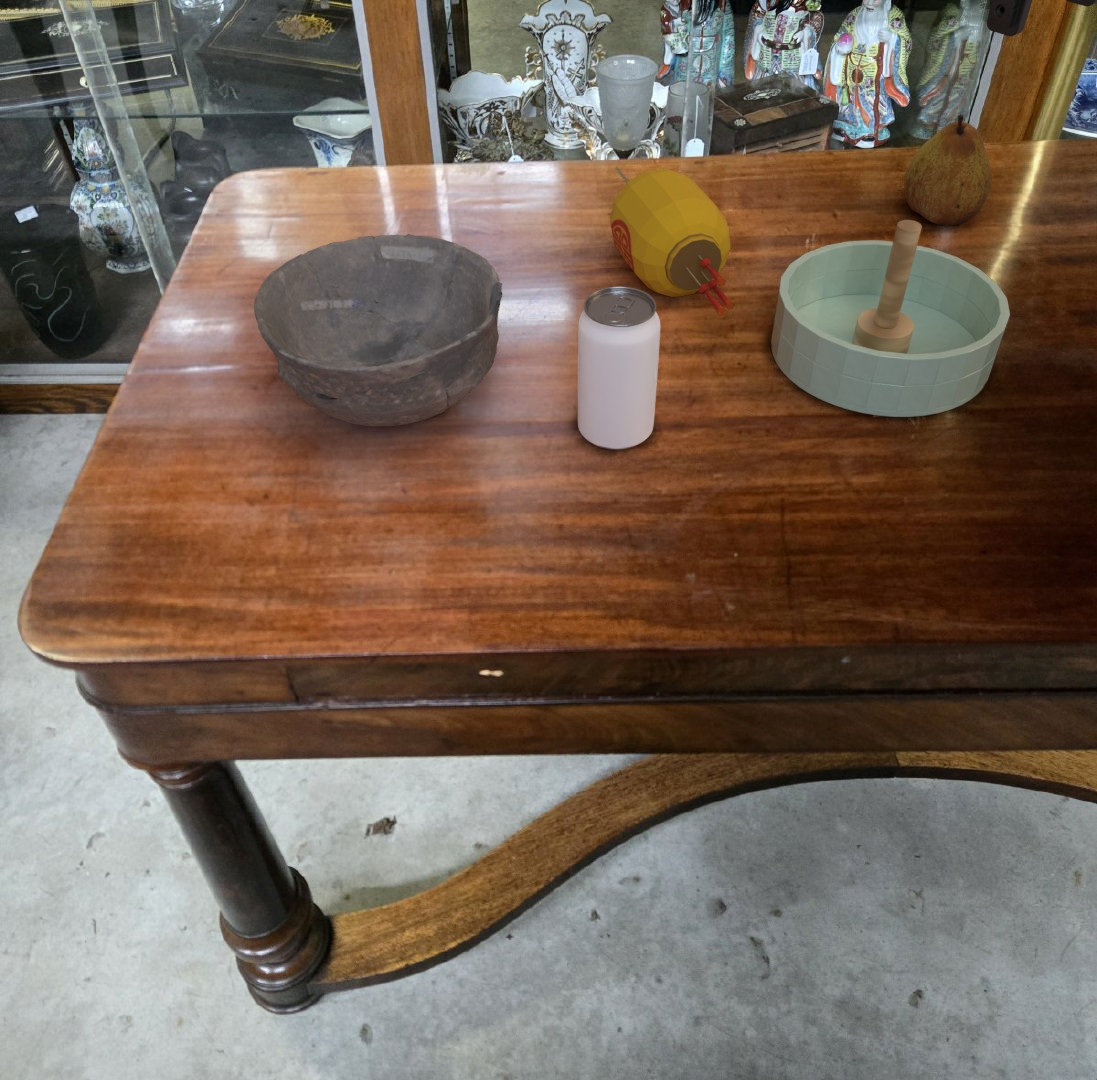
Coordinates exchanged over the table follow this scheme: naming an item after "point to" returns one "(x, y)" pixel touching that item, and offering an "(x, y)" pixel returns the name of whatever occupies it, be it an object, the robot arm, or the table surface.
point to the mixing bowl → (878, 376)
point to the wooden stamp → (891, 298)
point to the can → (617, 367)
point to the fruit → (949, 175)
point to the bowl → (382, 326)
